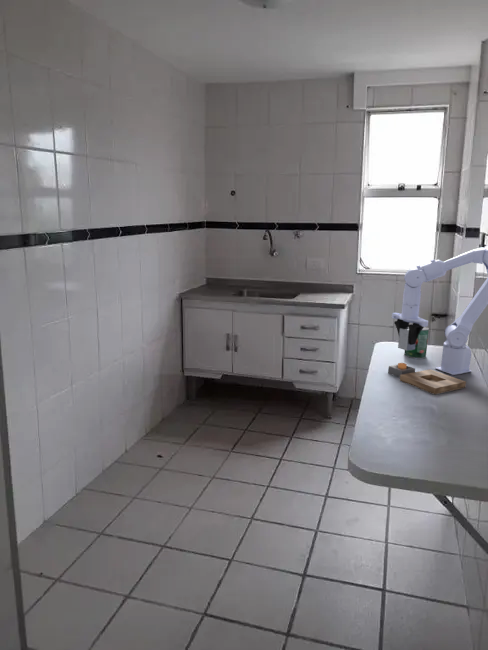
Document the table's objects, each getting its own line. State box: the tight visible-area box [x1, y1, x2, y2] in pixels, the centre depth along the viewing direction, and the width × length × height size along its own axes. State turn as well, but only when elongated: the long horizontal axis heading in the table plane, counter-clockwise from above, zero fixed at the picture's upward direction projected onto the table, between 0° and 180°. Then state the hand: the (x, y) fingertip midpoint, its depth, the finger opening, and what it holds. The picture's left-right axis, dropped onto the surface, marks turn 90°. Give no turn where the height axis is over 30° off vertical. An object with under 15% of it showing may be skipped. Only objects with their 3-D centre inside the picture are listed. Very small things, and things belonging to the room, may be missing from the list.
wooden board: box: [399, 369, 467, 395], centre depth 174 cm, size 14×14×2 cm
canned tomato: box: [403, 326, 430, 360], centre depth 206 cm, size 8×8×11 cm
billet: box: [397, 327, 415, 351], centre depth 191 cm, size 4×4×7 cm
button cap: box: [397, 362, 408, 369], centre depth 183 cm, size 3×3×2 cm
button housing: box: [387, 364, 416, 378], centre depth 183 cm, size 6×6×2 cm
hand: (407, 342), depth 191 cm, fingers closed on billet, 4 cm apart
